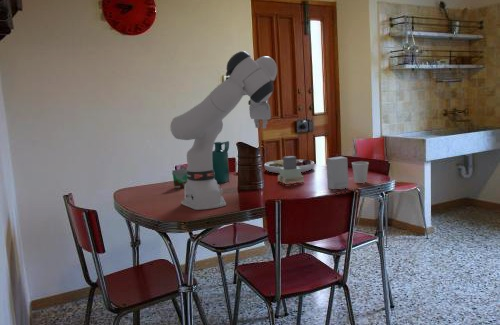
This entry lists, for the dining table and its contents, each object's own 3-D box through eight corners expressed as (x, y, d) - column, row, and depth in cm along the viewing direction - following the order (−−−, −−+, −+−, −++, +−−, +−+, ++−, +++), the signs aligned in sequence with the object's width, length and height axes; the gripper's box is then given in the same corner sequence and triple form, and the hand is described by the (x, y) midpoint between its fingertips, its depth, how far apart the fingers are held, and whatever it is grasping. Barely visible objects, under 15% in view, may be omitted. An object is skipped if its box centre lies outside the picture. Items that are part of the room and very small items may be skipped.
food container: (184, 189, 223) (183, 170, 222) (173, 189, 224) (172, 170, 223) (192, 185, 235) (191, 166, 234) (181, 185, 236) (180, 166, 235)
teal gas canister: (210, 182, 238) (207, 142, 235) (216, 180, 246) (214, 141, 243) (226, 183, 235) (223, 142, 232) (232, 180, 242) (230, 140, 239)
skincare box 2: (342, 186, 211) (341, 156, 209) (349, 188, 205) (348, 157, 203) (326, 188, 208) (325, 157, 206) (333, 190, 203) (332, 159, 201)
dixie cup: (371, 183, 215) (371, 163, 213) (354, 184, 214) (354, 164, 213) (365, 180, 223) (365, 161, 221) (349, 181, 222) (349, 162, 221)
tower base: (303, 183, 224) (303, 176, 224) (286, 186, 221) (285, 178, 220) (295, 180, 234) (294, 173, 233) (278, 183, 230) (277, 175, 230)
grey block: (296, 168, 224) (296, 156, 224) (287, 169, 223) (287, 157, 222) (292, 167, 229) (291, 155, 228) (283, 168, 227) (283, 156, 226)
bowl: (255, 173, 262) (254, 160, 260) (280, 166, 286) (280, 154, 285) (299, 176, 244) (299, 162, 243) (322, 168, 269) (322, 155, 268)
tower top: (301, 176, 223) (301, 168, 223) (284, 178, 221) (284, 170, 221) (295, 173, 232) (295, 166, 232) (279, 175, 230) (279, 167, 230)
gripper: (273, 100, 216) (274, 128, 218) (258, 101, 235) (259, 126, 237) (261, 101, 214) (262, 129, 216) (247, 101, 233) (248, 127, 235)
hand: (260, 128), depth 226 cm, fingers open, 8 cm apart
